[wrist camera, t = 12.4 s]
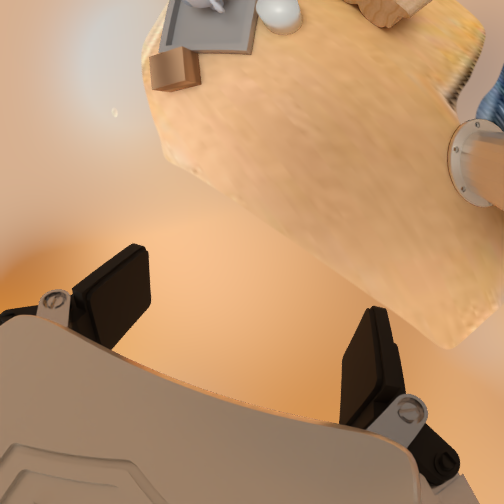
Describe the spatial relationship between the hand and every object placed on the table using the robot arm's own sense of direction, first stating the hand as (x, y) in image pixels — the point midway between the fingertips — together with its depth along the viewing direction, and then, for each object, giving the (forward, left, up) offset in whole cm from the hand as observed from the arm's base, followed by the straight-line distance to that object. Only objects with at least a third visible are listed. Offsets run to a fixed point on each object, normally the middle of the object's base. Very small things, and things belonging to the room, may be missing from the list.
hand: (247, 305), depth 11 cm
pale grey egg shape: (+6, -22, -28) cm, 36 cm away
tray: (+16, -25, -28) cm, 41 cm away
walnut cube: (+19, -13, -28) cm, 37 cm away
